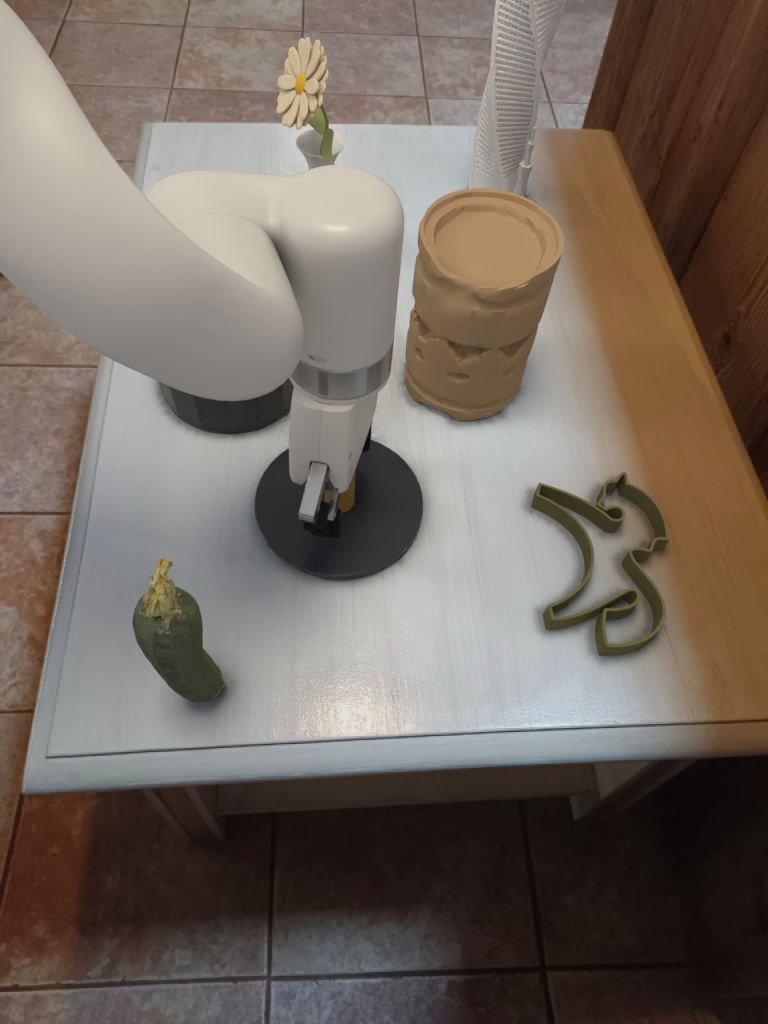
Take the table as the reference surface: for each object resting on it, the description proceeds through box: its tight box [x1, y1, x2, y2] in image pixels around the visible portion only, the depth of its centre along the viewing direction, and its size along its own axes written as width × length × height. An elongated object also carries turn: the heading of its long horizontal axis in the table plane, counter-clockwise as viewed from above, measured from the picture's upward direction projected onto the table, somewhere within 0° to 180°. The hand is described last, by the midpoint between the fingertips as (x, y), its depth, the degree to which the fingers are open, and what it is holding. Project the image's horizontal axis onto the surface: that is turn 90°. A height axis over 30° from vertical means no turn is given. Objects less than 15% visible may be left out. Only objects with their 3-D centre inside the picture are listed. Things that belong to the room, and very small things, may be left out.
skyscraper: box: [468, 0, 567, 197], centre depth 82 cm, size 8×8×28 cm
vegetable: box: [131, 556, 227, 704], centre depth 50 cm, size 4×4×20 cm
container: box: [404, 188, 565, 422], centre depth 70 cm, size 13×13×18 cm
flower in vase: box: [276, 36, 345, 170], centre depth 76 cm, size 13×11×25 cm
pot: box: [158, 378, 294, 435], centre depth 72 cm, size 15×15×10 cm
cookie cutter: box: [530, 471, 670, 657], centre depth 65 cm, size 18×12×2 cm, turn 178°
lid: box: [254, 439, 424, 579], centre depth 65 cm, size 16×16×7 cm
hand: (338, 487), depth 65 cm, fingers open, 9 cm apart
